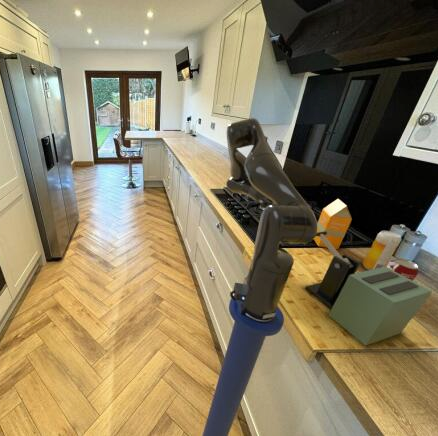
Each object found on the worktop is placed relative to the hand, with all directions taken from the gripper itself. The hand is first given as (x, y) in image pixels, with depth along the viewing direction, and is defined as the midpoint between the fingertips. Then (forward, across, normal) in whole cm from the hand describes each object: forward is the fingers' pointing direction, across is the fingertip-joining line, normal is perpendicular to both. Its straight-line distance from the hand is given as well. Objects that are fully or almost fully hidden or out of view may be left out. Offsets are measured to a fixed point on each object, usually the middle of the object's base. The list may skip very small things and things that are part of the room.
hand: (294, 209), depth 84 cm
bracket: (+21, 0, +22) cm, 30 cm away
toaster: (+32, 0, +22) cm, 38 cm away
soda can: (+25, +22, +22) cm, 40 cm away
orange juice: (-5, +31, +22) cm, 38 cm away
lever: (+16, 0, +7) cm, 18 cm away
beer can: (+14, +32, +22) cm, 41 cm away
